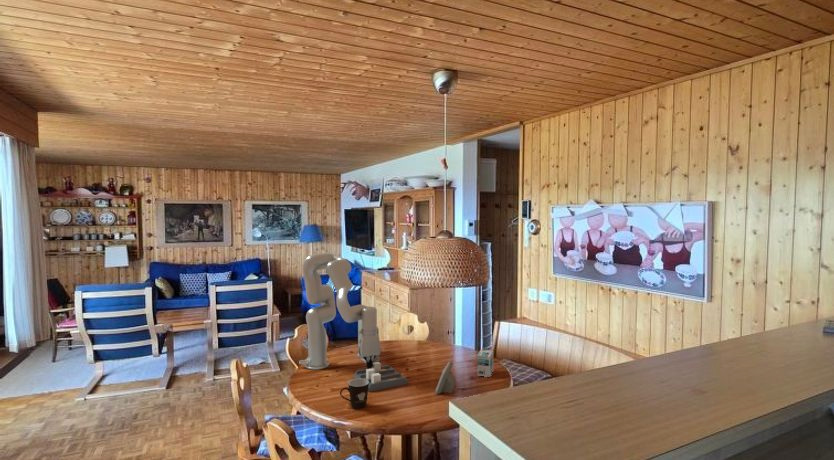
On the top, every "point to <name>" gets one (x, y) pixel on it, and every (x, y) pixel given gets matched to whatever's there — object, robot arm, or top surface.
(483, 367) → the light bulb box
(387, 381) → the switch panel
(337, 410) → the top surface
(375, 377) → the near tab
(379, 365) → the far tab
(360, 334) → the network device
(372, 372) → the middle tab
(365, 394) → the coffee mug
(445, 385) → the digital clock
